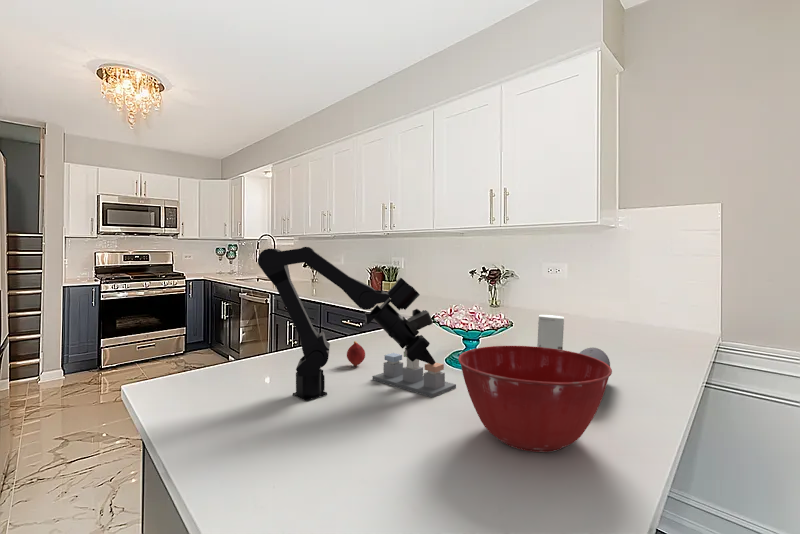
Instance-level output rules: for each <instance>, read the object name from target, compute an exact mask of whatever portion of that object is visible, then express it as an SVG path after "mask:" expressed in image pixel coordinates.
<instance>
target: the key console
mask: <svg viewBox="0 0 800 534" xmlns="http://www.w3.org/2000/svg"><path fill="white" fill-rule="evenodd" d="M445 374H446V373H445V372H444V371H441V373H440V374H437V375H432V374H428V371H426V372H424V367H423V366H419V368H417V369H414V370H412V369H409V368H407V366H404V362H401V361H399V363H398V364H394V365H393V364H389V363H387V361H386V362H383V372H381V373H379V374H374V375H372V381H373V380H374V381H377V382H380V383H383V384H386V385H389V386H393V387H395V388H396V387H397V388H399V389H404V390H406V391H409V392H412V393H416V394H419V395H422V396H423V395H424V396H426V397H429V398H432V399H433V398H436V397H437V396H440V395H442V394H445V393H447V392H450V391H452V390H455V389H456V388H457V384H456V383H453V382H448V381H446V380H445V379H446V375H445Z"/></svg>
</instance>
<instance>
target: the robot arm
mask: <svg viewBox="0 0 800 534" xmlns="http://www.w3.org/2000/svg"><path fill="white" fill-rule="evenodd" d="M257 263H258V264H257V265H258V266H259V268H260V269H261V271H262V272H263V273H264V274H265V276H266V277H267V278H268V279H269V280H270V282H271V284H273V285H274V287H275V288H276V290H277V292H278V294H279V296H280V299H281V301H282V302H283V305H284V306H285V309H286V311H287V313H288V316H289V317H290V319H291V321H292V323H293V325H294V328H295V330H296V331H297V334H298V335H299V340H300V345H301V350H302V354H303V356H302V357H301V358H299V361H298V364H297V365H296V368H295V370H296V372H295V392H292V396H293V397H296V398H298V399H300V400H302V401H306V402H309V401H312V400H315V399H318V398H322V397H324V396H327V395H328V392H327V391H325V387H326V386H325V383H326V381H325V374H324V369H322V368H323V367H324V366H325V365H326V364H327V363H328V361H329V357H330V346H331V343H329V342H328V340H327V338H326V334H325V332H324V331H321V332H320V333H319V332H318V331H317V330H316V329H315V328H314V326H313V324H312V321H311V319H310V317H309V316H308V313H307V311H306V309H305V307H304V304H303V302H302V300H301V298H300V296H299V294H298V292H297V290H296V288H295V286H294V283H293V281H292V279H291V275H290V269H289V265H296V264H300V263H303V264H306V265H307V266H309V267H310V268H311V269H313V270H314V271H316V272H317V273H318V274H320V275H322V277H324V278H326V279H327V280H329V282H331V283H333V284H334V285H336V286H337V287H338V288H340V289H341V290H342V291H343V292H344V293H345V294H346V295H347V296H348V297H349V299H350V300H352V302H354V304H355V305H356V306H357V307H358V308H360V310H364V311H365V310H366V312H364V315H365V324H366V325H369V324H371V322H372V321H374V322H375V323H376V324H377V325H378V326H379V327H380V328H381V329H382V330H384V332H386V334H387V335H388V336H389V337H390V338H391V339H393V341H395V342H396V343H397V344H398V346H399V347H400V348H401V349H402V350H403V349H404V351H405V354H406V356H407V357H408V358H409V359H410V360H411V361H412V362H413V361H414V360H415V359H418V360H419V361H422V362H424V363H425V364H428V363H429V364H431V365H434V364H435V362H436V361H435V359H434V358H433V356H432V355H431V353H430V351H429V350H428V349H427V348H428V347H429V345H430V344H431V343H430V341H428V340H427V339H426V338H425V336H423V335H422V334H420V335H419V333H420V331H419V330H421V329H424V328H425V327H427V326H431V325H432V324H434V321H433V319H432V317H431V314H430V312H429V311H428V310H422V311H421V310H420V309H418V308H415V309H413V310H412V312H411V314H412V315H411V316H410V317H409V318H407V319H406V317H404V316H402V315H401V314H400V313H399V312H398V311H400V310H404V311H406V310H407V309H408V308H409V307H410V306H411V305H412V303H414V302H415V301H416V300H417V298H419V296H420V293H419V292H418V291H417V290H416V289H415V288H414V287H413V286H412V285H410V284H409V283H408V282H407V281H406V280H405V279H403V278H402V277H399V278H398V279H397V280H396V282H395V284H393V285H392V287H391V288H389V290H388V291H384V290H376V289H374V288H373V286H370V285H368V284H367V283H364V282H362V281H360V280H357V279H356V278H354V277H352V276H349V275H348V274H347V273H345V272H344V271H343V270H341V269H339V267H337V266H336V265H334V264H333V263H331V262H329V261H328V260H327V259H326V258H325V257H323V256H322V255H320V254H319V253H317V252H316V251H315V249H313V248H312V247H309V246H303V247H301V248H300V247H299V248H294V249H287V250H286V249H285V250H281V249H278V248H265V249H264V250H262V251H261V252H260V253H259V254H258V258H257ZM390 303H391V304H392V305H393V306H394V307H395V308H396V309H397V310H398V311H397V310H396V309H395V308H394V307H393V306H392V305H390ZM379 304H381V305H380V306H379ZM367 310H371V311H369V312H367ZM407 357H406V358H407Z"/></svg>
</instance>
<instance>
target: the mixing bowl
mask: <svg viewBox="0 0 800 534" xmlns="http://www.w3.org/2000/svg"><path fill="white" fill-rule="evenodd" d="M579 353H580V352H574V351H571V350H570V351H569V350H566V349H565V350H559V349H552V348H544V347H537V346H533V345H532V346H530V345H493V346H483V347H478V348H477V347H476V348H473V349H469V350H467V351H463V352H462V353H460V354H459V356H458V357H457V359H458V362H459V364H460V366H461V367H460V368H461V372H462V375H463V376H462V377H463V379H464V382H465V383H464V384H465V385H466V386H465V387H466V389H467V393H468V396H469V398H470V401H471V403H472V405H473V407H474V409H475V412H476V413H477V416H478V418H479V419H480V422H481V423H482V425H483V426H484V428H485V429H486V430H487V431H488V432H489V433H490V434H491V435H492V436H493V437H495V438H497V439H498V441H500V442H501V443H503V444H505V445H506V446H509V447H512V448H514V449H518V450H522V451H527V452H535V453H550V452H555V451H559V450H562V449H563V448H565V447H568V446H570V445H571V444H572V445H573V443H575V442H576V441H578V440H579V439H580V438H581V437H582V436H583V434H584V433H585V431H586V430H587V428H588V427H589V425H590V424H591V423H592V421H593V418H594V417H595V416H596V413H597V411H598V409H599V407H600V404H601V402H602V400H603V398H604V394H605V391H606V388H607V385H608V382H609V377H610V376H611V375H612V374H613V370H612V367H611V365H610V366H609V365H607V364H606V363H604V362H603V361H600V360H598V359H596V358H593V357H590V356H587V355H583V354H579Z"/></svg>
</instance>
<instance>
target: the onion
mask: <svg viewBox="0 0 800 534" xmlns="http://www.w3.org/2000/svg"><path fill="white" fill-rule="evenodd" d="M346 358H347V360H348V362H349V363H350V364H352V365H353V367H357V366H359V365H360V364H362V363H363V362H364V360H365V358H366V352H365V349H364V347H363V346H362V345H361V344H359V343H358V342H357V341H356V340H354V341H353V344H352V345H351V346H350V347H349V348H348V349H347V351H346Z"/></svg>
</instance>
